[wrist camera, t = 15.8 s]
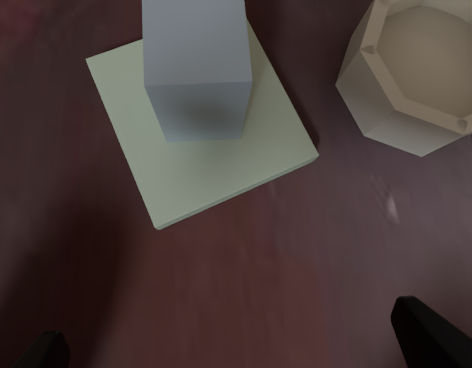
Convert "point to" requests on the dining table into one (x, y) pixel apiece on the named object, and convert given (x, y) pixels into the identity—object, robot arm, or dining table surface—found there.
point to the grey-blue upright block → (197, 67)
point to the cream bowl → (411, 73)
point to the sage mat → (204, 151)
